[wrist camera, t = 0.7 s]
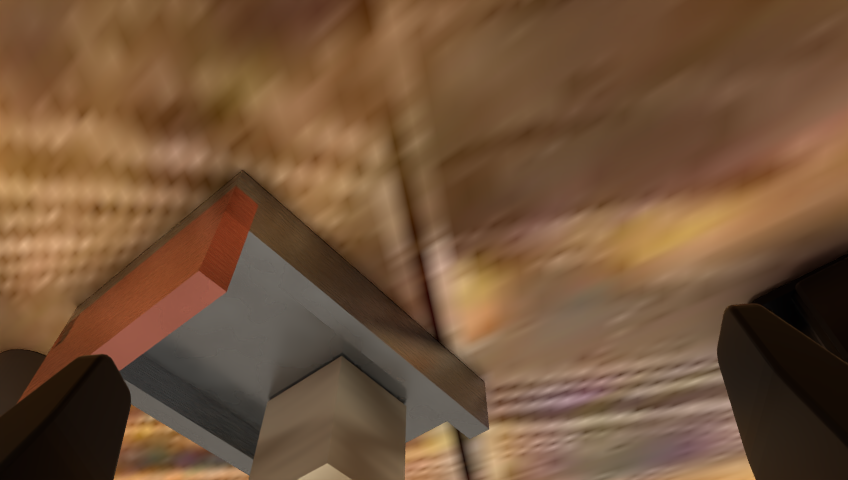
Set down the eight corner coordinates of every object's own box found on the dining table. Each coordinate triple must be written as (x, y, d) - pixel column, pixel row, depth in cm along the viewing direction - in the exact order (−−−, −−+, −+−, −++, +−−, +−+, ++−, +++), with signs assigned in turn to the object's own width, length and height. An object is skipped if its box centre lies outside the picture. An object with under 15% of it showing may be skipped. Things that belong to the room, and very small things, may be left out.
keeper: (406, 406, 28) (403, 513, 24) (332, 446, 30) (318, 553, 26) (341, 355, 27) (327, 463, 23) (267, 402, 28) (241, 509, 24)
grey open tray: (484, 382, 29) (495, 495, 25) (323, 469, 33) (307, 580, 28) (242, 170, 23) (198, 271, 18) (76, 308, 26) (6, 419, 22)
